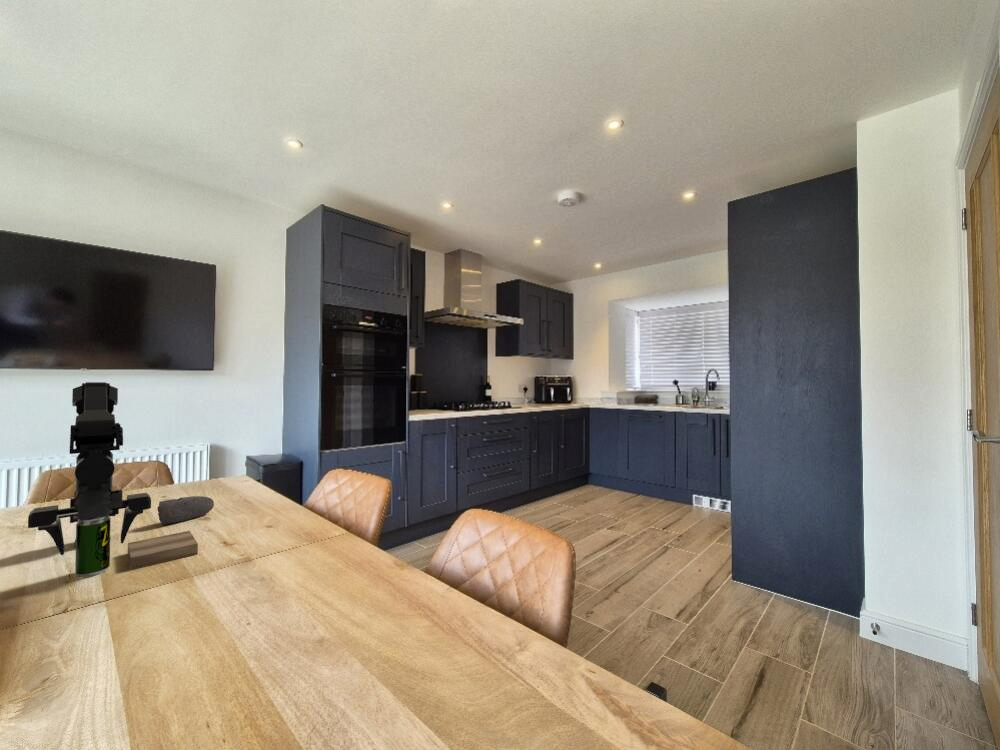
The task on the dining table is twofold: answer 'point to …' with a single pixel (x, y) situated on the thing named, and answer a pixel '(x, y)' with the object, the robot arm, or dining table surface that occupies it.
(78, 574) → the beer can
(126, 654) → the dining table surface
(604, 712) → the dining table surface
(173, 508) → the perforated stone tool
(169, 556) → the walnut block
